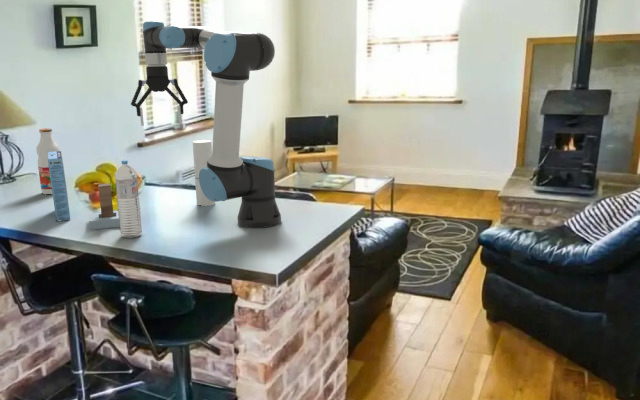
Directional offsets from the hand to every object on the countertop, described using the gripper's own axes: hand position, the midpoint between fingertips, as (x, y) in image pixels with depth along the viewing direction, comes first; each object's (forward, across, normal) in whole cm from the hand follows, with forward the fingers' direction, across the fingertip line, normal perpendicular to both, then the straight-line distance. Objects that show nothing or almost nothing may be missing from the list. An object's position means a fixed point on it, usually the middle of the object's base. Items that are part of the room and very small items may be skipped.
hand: (161, 124), depth 224 cm
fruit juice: (+33, +44, -52) cm, 76 cm away
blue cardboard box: (+33, +38, -8) cm, 51 cm away
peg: (+33, +22, +12) cm, 41 cm away
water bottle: (+33, +15, +31) cm, 48 cm away
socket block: (+33, +22, +12) cm, 41 cm away
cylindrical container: (+33, -15, -3) cm, 36 cm away
